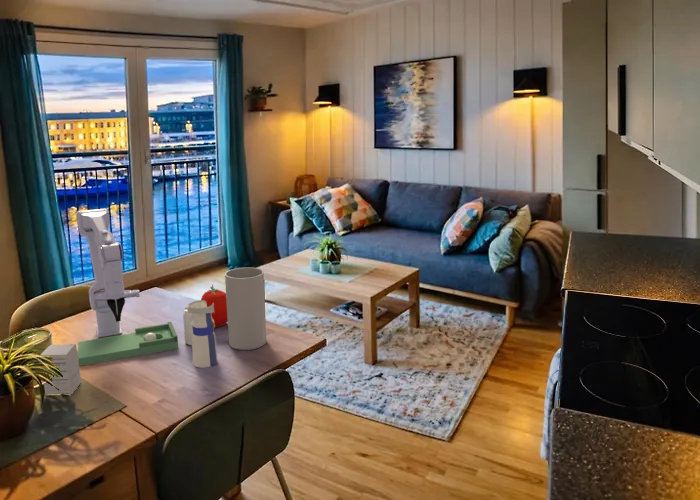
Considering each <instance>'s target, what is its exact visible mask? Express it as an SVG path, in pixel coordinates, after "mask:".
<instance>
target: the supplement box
mask: <svg viewBox="0 0 700 500" xmlns="http://www.w3.org/2000/svg"><path fill="white" fill-rule="evenodd" d="M40 355H44V356H50V357H54V359H53V360H52V361H51V362H52V364H53V365H54V366H56V367H58V368H59V370H60V371H61V373H62V375H63V377H56V376H54V377H52V383H53V384H54V385H55V386H56V387H57V388H58V389H59V391H58V390H57V389H56V388H55V387H54V386H51V385H50V384H48V383H44V382H43V387H44V393H45V395H46V394H72V393H73V392H74V391H75V390H76V389H77V390H78V388H79V387H80V386H79V384H80V383H81V384H82V377H81V371H80V370H81V369H80V366H79V362H78V348H77V344H76V343H64V344H63V343H62V344H61V343H60V344H50V346H49V345H48V347H46V349H44V350H43V351H42V352H41V353H40ZM81 384H80V385H81ZM78 386H79V387H78ZM77 387H78V388H77ZM77 390H76V391H77ZM76 391H75V392H76ZM75 392H74V393H75Z"/></svg>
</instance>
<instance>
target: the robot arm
mask: <svg viewBox="0 0 700 500" xmlns="http://www.w3.org/2000/svg"><path fill="white" fill-rule="evenodd" d="M75 216H76V217H75V218H76V223H77V228H78V232H79V235H80V236H82V237H84V238H85V239H86V241H87V244H88V250H89V255H90V260H91V265H92V269H93V270H92V271H93V274H94V275H93V276H94V281H95V282H94V283H93V284H92V285H91V286H90V287H89V289H88V299H89V305H90V309H91V310H92V311H95V316H96V317H95V318H96V324H97V326H96V335H97V338H105V337H112V336H118V335H123V331H122V325H121V323H120V321H121V320H122V319H121V316H122V312H123V310H124V306H125V303H126V299H129V298H139V297H140V296H141V295H140V290H139V289H133V290H131V289H130V290H129V289H127V290H125V282H124V275H123V273H124V272H123V265H122V261H123V260H124V254H123V253H124V252H123V247H122V245H121V243H120V242H118V241H116V239H115V237H114V234H113V233H112V232H111V231H110V230H109V227H110V213H109V211H108V209H106V208H100V209H99V208H98V209H97V208H96V209H87V210H77V212H76V215H75Z"/></svg>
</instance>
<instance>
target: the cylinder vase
mask: <svg viewBox="0 0 700 500" xmlns="http://www.w3.org/2000/svg"><path fill="white" fill-rule="evenodd" d="M224 283H225V293H226V301H227V318H228V322H227V329H228V344H229V346H230V348H232V349H235V350H238V351H250V350H251V351H252V350H257V349H259V348H261V347H264V345H265V344H266V343H267V323H266V322H267V321H266V320H267V319H266V299H265V298H266V297H265V279H264V270H263V269H261V268H257V267H238V268H237V267H236V268H232V269H229V270H227V271H226V272H224Z"/></svg>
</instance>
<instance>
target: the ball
mask: <svg viewBox="0 0 700 500" xmlns="http://www.w3.org/2000/svg"><path fill="white" fill-rule="evenodd" d="M151 340H157V337H156V335H155V334H154V333H147V334H146V335H145V337H144V341H151Z"/></svg>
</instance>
